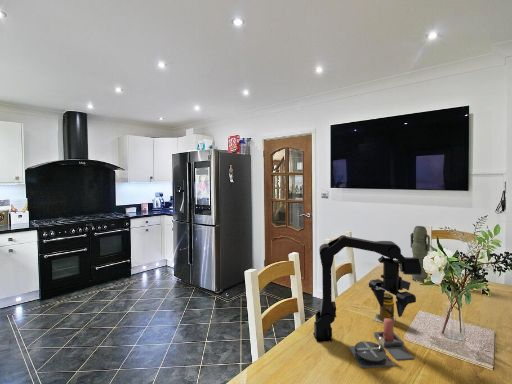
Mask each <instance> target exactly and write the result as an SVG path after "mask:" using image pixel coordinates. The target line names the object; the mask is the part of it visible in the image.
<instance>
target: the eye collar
mask: <svg viewBox="0 0 512 384" xmlns="http://www.w3.org/2000/svg"><path fill="white" fill-rule="evenodd" d="M373 334H374V338H375V339H376V341H377V342H378V343H379V337H383V334H384V331H375V332H374V333H373ZM393 336H394V341H386V342H385V341H384V349H386V348H390V347H404V346H405V345H404V341H403V340H402V339H401V338H400V337H399V336H398V334H396V333H395V332H394V331H393ZM404 348H405V347H404Z"/></svg>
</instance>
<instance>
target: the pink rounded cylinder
mask: <svg viewBox="0 0 512 384" xmlns="http://www.w3.org/2000/svg"><path fill="white" fill-rule="evenodd" d="M383 332H384V334H383V337H384V341H385V342H386V341H395V340H394V336H393V332H394V325H393V320H392V319H389V318H385V319H384V323H383Z"/></svg>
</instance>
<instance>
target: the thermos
mask: <svg viewBox="0 0 512 384" xmlns="http://www.w3.org/2000/svg"><path fill="white" fill-rule="evenodd" d="M410 248H411V249H412V250H411V252H412V257H417V258H419V262H420V265H421V268H422V271H421V275H411V280H412V279H414V280H417V281H422V282H421V283H425V282H424V279H426V278H427V277H428V275H429V272H428V273H426V272H425V270H424V268H423V259H424V257H425V256H427V257H428V255H429V252H430V250H431V236H430V234H428V230H427V228H426V227H425V226H422V225H416V226H414V228H413V231H412V233H411V234H410ZM427 279H428V278H427ZM414 280H413V281H414ZM417 281H416V282H417Z"/></svg>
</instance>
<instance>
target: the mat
mask: <svg viewBox="0 0 512 384" xmlns="http://www.w3.org/2000/svg"><path fill="white" fill-rule="evenodd" d="M385 350H387V351H388V353H390V356H392V357H393V359H395V361H402V360H404V361H405V360H415V357H414V356H413V355H412V354H411V353H410V352H409V350H407V349H406V348H405V347H390V348H385Z"/></svg>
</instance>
